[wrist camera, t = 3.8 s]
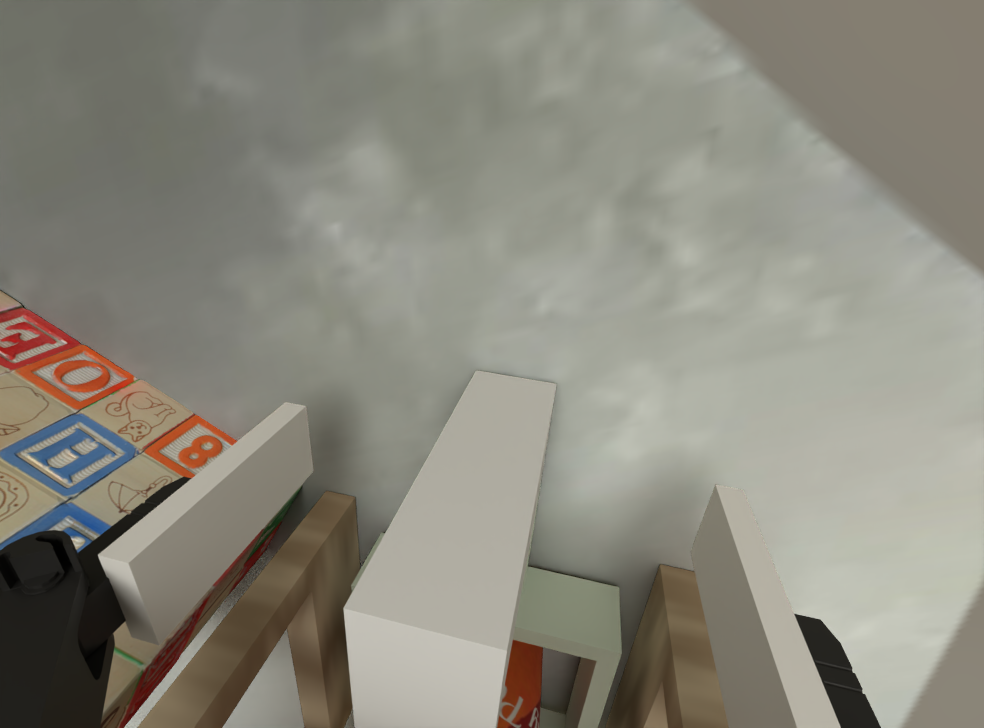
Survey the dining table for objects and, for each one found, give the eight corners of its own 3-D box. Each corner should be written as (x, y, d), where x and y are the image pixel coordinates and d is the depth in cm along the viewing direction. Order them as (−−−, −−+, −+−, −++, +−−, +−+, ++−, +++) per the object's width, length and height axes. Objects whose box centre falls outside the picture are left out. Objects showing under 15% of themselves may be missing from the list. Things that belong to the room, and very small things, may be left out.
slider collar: (578, 727, 25) (566, 1046, 16) (386, 673, 27) (279, 935, 18) (672, 401, 16) (761, 716, 7) (374, 352, 18) (149, 557, 9)
